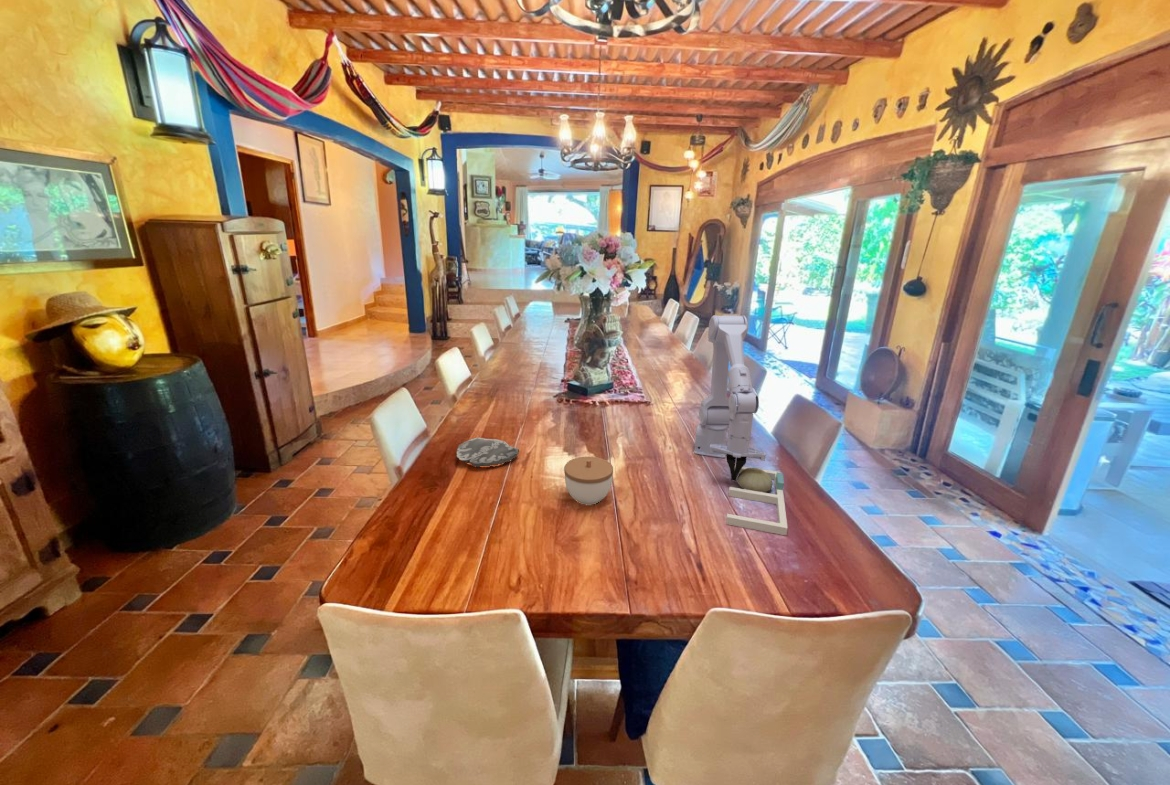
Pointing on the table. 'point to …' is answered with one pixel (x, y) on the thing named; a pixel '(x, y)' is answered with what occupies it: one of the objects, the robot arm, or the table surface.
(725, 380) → the robot arm
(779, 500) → the comb rack
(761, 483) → the sea urchin shell
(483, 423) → the table surface
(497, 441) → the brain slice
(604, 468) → the lidded bowl
